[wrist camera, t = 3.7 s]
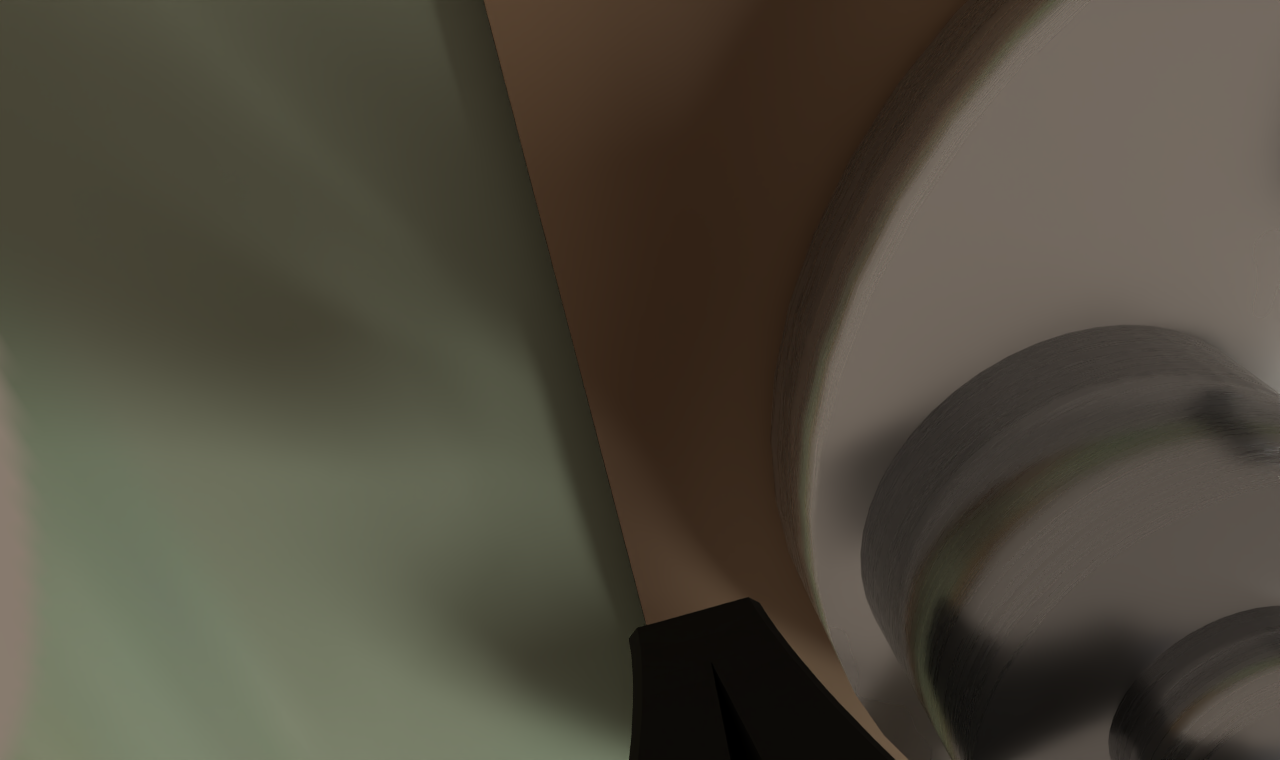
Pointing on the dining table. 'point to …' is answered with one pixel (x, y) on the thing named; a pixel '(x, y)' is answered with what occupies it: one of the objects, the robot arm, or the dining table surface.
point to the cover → (1089, 554)
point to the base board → (697, 253)
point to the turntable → (1019, 251)
